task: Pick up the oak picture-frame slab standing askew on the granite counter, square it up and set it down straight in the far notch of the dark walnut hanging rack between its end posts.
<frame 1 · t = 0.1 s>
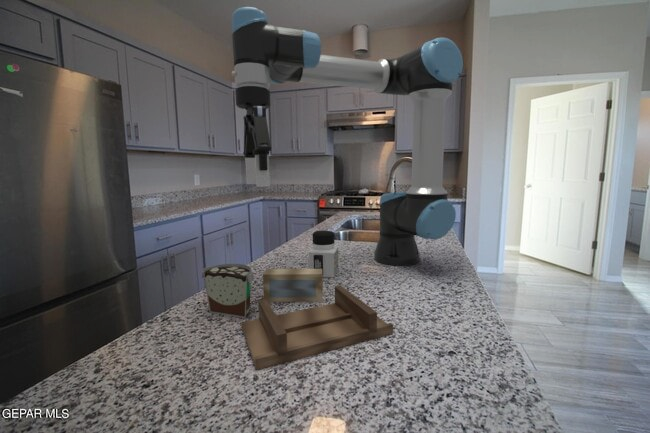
hand: (257, 185, 72), 28 cm above the countertop, fingers open, 13 cm apart
container: (324, 273, 95), on the countertop
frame: (294, 298, 77), on the countertop
food container: (235, 310, 71), on the countertop
rack: (315, 330, 61), on the countertop
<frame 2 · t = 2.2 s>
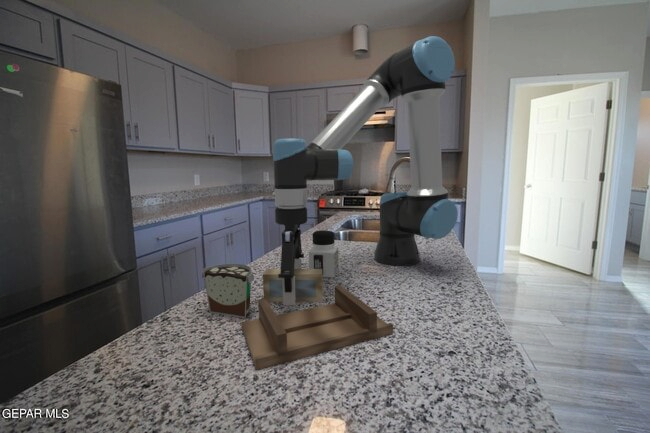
hand: (293, 292, 76), 1 cm above the countertop, fingers open, 13 cm apart
nothing on the countertop moved.
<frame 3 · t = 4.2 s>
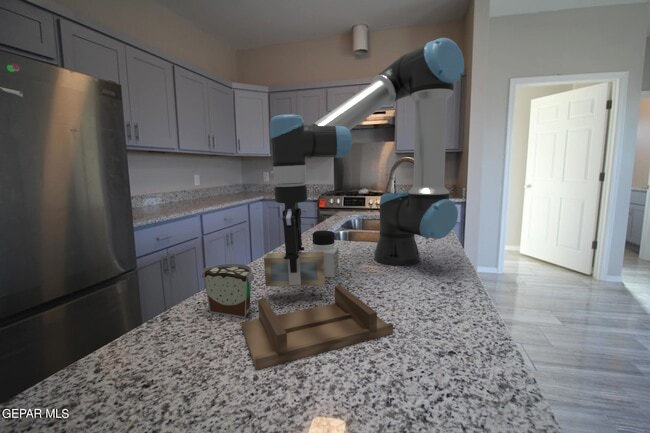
hand: (296, 280, 76), 4 cm above the countertop, fingers closed on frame, 4 cm apart
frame: (296, 282, 76), point 4 cm above the countertop, touching gripper
everything else where it was.
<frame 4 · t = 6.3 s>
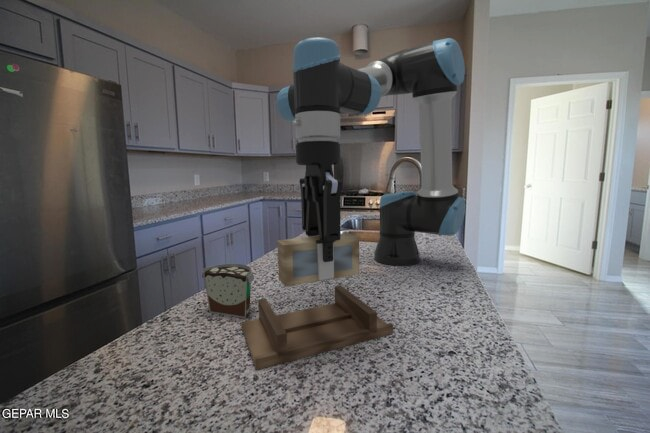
hand: (320, 273, 56), 13 cm above the countertop, fingers closed on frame, 4 cm apart
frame: (319, 276, 56), point 12 cm above the countertop, touching gripper
everything else where it was.
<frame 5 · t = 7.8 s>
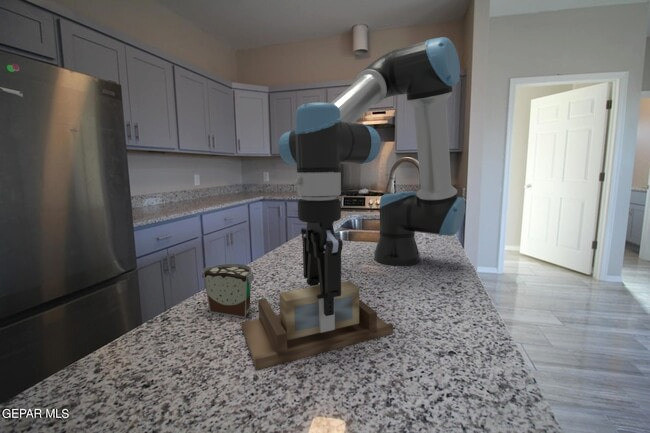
hand: (321, 323, 58), 3 cm above the countertop, fingers closed on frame, 4 cm apart
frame: (320, 326, 58), point 3 cm above the countertop, touching gripper
everything else where it was.
when the fingers open (2 cm above the countertop, at t = 8.7 s): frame stays where it is, resting on rack.
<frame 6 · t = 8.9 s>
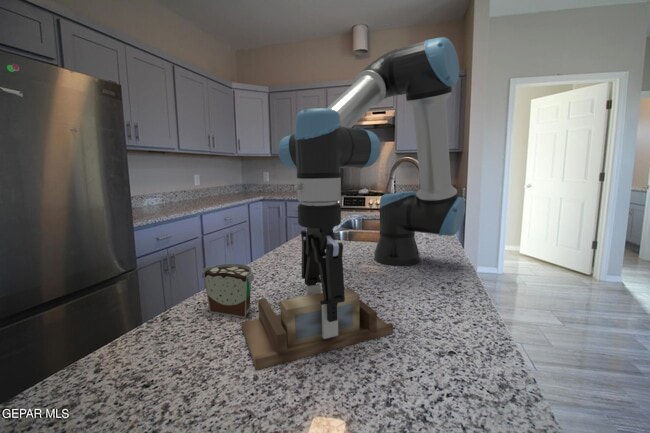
hand: (321, 326, 58), 3 cm above the countertop, fingers open, 7 cm apart
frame: (321, 333, 58), point 1 cm above the countertop, touching rack
everything else where it was.
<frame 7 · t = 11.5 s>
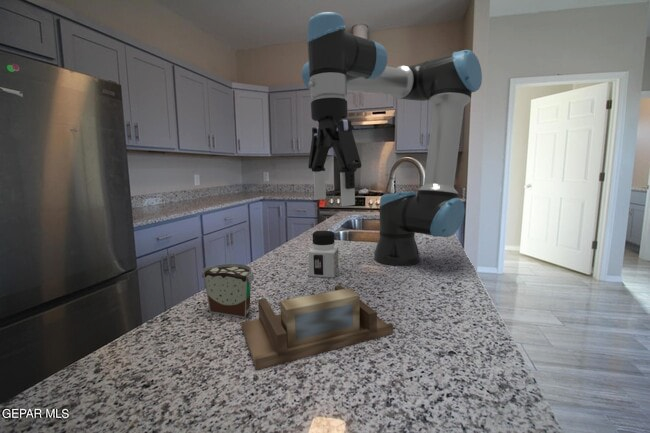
hand: (333, 202, 68), 24 cm above the countertop, fingers open, 13 cm apart
nothing on the countertop moved.
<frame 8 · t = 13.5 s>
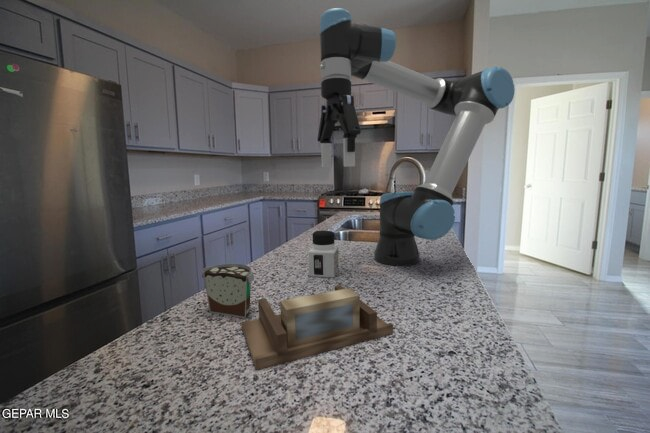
hand: (337, 167, 81), 32 cm above the countertop, fingers open, 13 cm apart
nothing on the countertop moved.
at the end: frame 0.2 cm from the target spot on the rack, point 1.0 cm above the rack's base; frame tilted 0°; the gripper is holding nothing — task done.
